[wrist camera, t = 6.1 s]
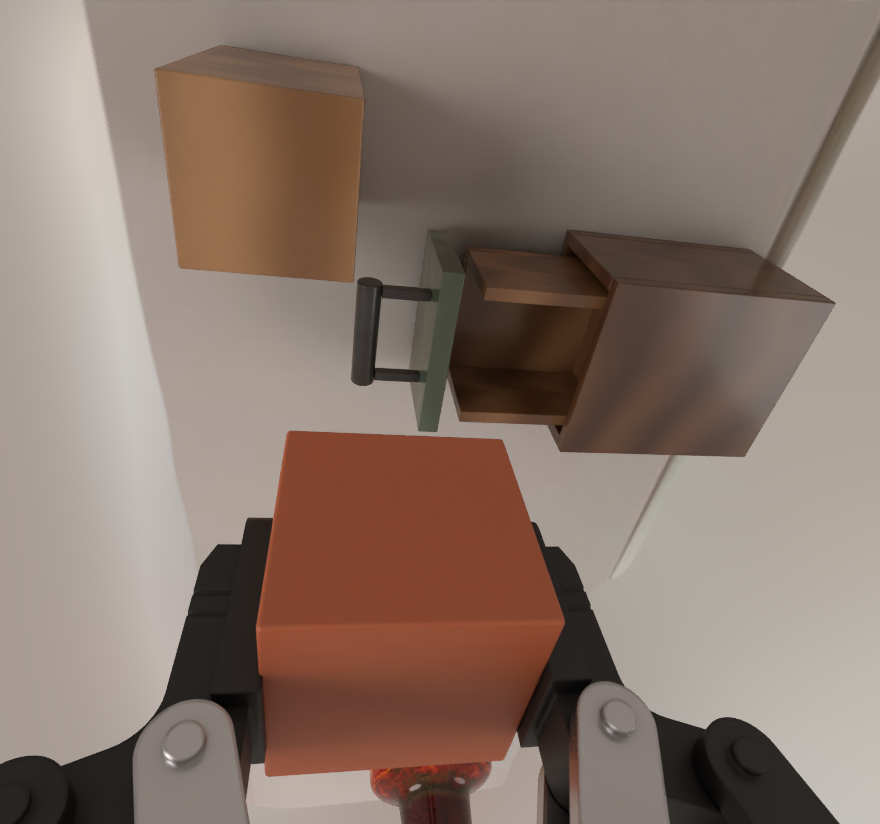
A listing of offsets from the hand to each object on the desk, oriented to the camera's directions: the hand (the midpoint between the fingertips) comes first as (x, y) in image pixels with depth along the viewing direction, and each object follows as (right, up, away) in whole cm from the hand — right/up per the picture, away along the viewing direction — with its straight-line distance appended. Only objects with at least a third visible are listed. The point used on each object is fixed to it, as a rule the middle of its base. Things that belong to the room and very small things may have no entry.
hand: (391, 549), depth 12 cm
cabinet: (+15, +10, +29) cm, 34 cm away
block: (0, +1, +1) cm, 1 cm away
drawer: (+4, +10, +26) cm, 28 cm away
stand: (-7, +18, +19) cm, 27 cm away
